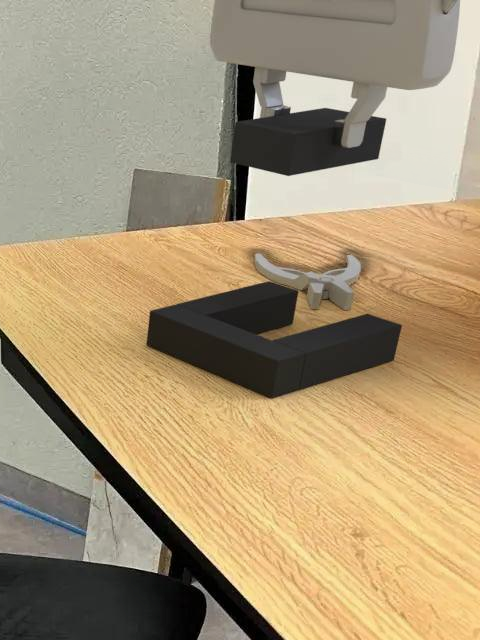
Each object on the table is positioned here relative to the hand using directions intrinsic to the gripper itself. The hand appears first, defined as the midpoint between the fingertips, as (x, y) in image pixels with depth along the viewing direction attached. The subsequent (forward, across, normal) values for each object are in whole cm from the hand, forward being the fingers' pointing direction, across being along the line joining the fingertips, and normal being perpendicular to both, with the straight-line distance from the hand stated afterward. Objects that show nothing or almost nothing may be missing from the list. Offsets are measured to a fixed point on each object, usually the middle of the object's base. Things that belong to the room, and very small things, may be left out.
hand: (307, 137), depth 89 cm
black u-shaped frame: (+16, -2, +3) cm, 17 cm away
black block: (+2, 0, 0) cm, 2 cm away
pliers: (+16, +8, -14) cm, 23 cm away
